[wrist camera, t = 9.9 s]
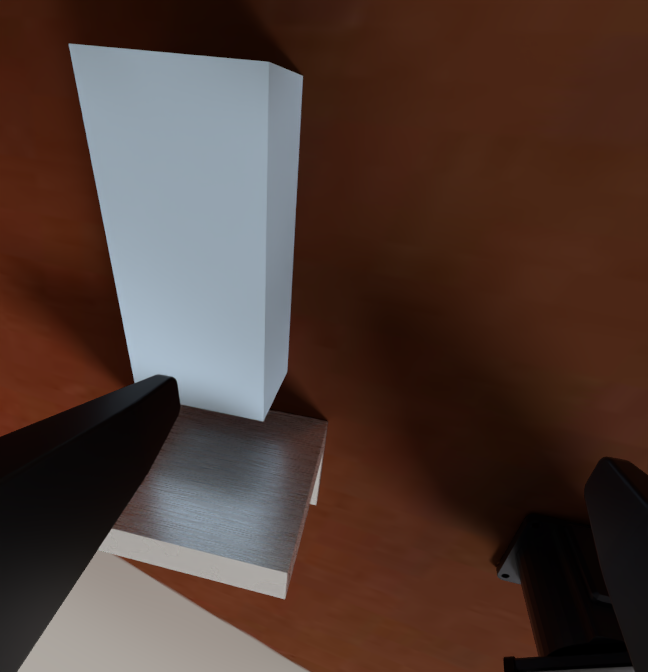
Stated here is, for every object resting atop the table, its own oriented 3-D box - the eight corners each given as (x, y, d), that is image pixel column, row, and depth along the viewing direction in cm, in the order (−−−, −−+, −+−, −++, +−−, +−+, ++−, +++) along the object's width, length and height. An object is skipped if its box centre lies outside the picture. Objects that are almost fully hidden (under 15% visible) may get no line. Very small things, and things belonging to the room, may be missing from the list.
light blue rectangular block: (288, 368, 22) (263, 421, 18) (182, 348, 23) (136, 395, 19) (304, 76, 15) (268, 61, 11) (151, 62, 16) (68, 43, 12)
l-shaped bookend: (317, 497, 27) (280, 652, 19) (155, 460, 28) (59, 590, 20) (328, 421, 23) (287, 573, 15) (142, 383, 24) (19, 504, 17)
